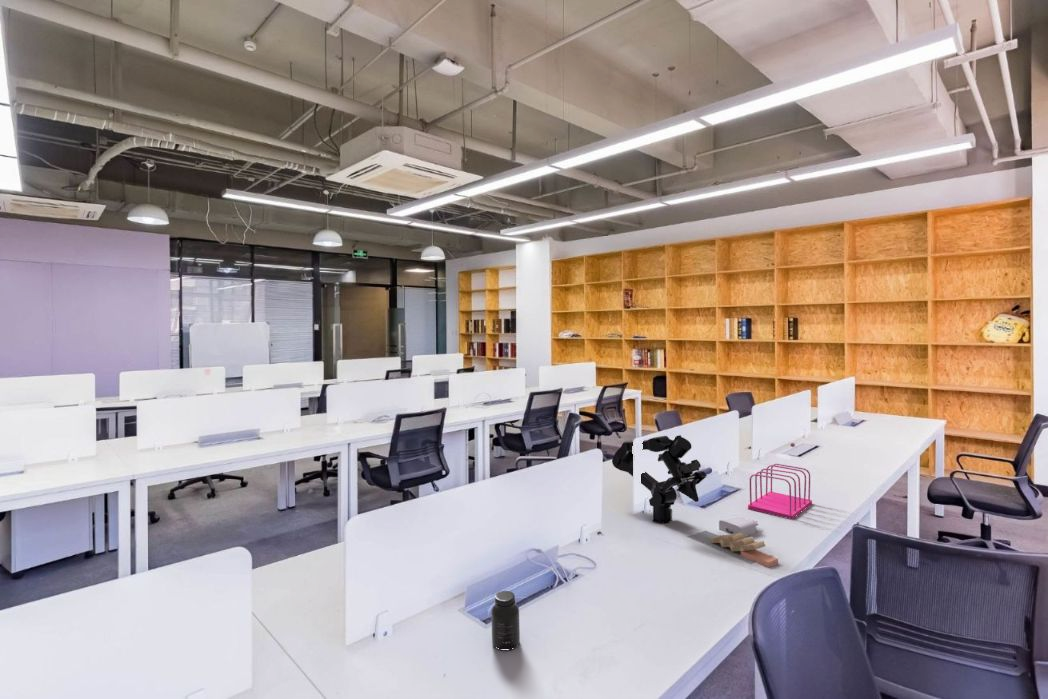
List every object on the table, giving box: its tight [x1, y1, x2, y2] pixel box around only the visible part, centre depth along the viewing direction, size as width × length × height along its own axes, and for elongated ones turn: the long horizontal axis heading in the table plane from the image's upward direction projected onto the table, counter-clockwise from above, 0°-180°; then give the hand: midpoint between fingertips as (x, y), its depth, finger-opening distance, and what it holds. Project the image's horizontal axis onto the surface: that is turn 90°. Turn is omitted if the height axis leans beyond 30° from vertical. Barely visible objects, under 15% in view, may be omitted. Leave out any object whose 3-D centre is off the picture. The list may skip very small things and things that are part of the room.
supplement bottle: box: [490, 590, 521, 650], centre depth 127 cm, size 7×7×12 cm
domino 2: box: [720, 536, 755, 547], centre depth 176 cm, size 2×5×10 cm
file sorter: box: [747, 463, 813, 520], centre depth 220 cm, size 17×25×16 cm
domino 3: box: [730, 540, 766, 552], centre depth 173 cm, size 2×5×10 cm
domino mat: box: [686, 530, 756, 565], centre depth 180 cm, size 26×10×1 cm, turn 31°
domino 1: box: [711, 533, 745, 543], centre depth 180 cm, size 2×5×10 cm
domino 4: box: [741, 549, 779, 568], centre depth 169 cm, size 2×5×10 cm
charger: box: [718, 515, 759, 538], centre depth 194 cm, size 5×9×15 cm
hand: (697, 501), depth 190 cm, fingers closed
